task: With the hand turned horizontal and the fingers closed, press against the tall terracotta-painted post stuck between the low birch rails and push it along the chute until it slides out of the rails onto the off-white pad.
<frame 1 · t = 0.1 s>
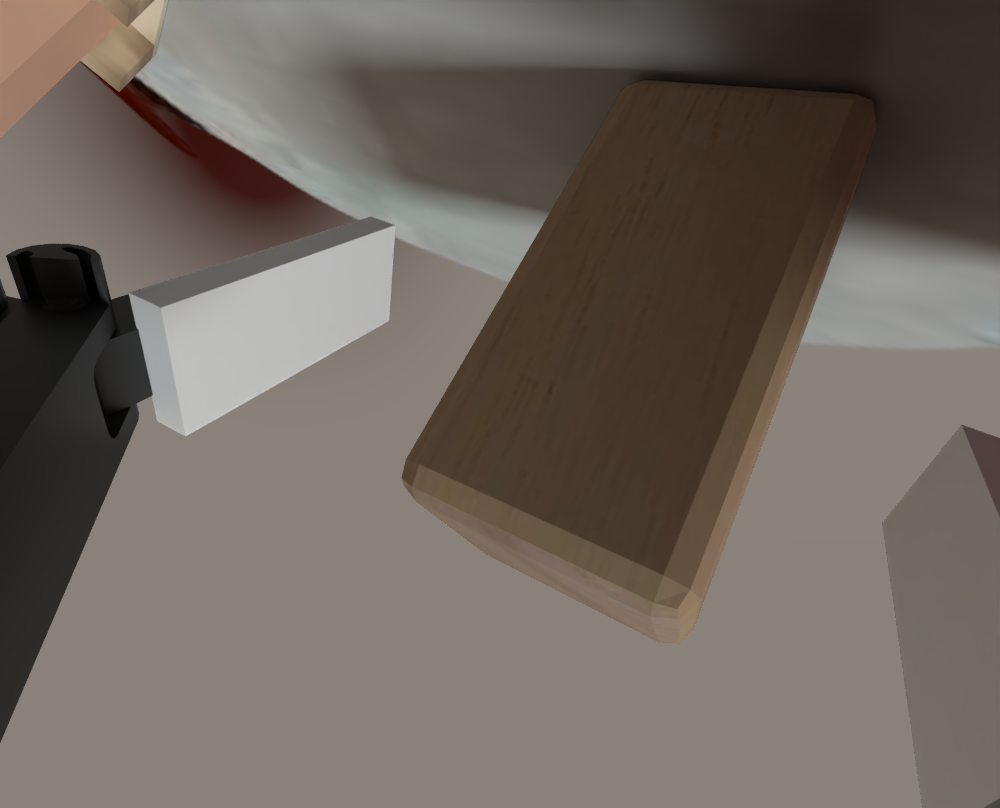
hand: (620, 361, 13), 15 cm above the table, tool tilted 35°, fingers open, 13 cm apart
block: (735, 173, 26), on the table
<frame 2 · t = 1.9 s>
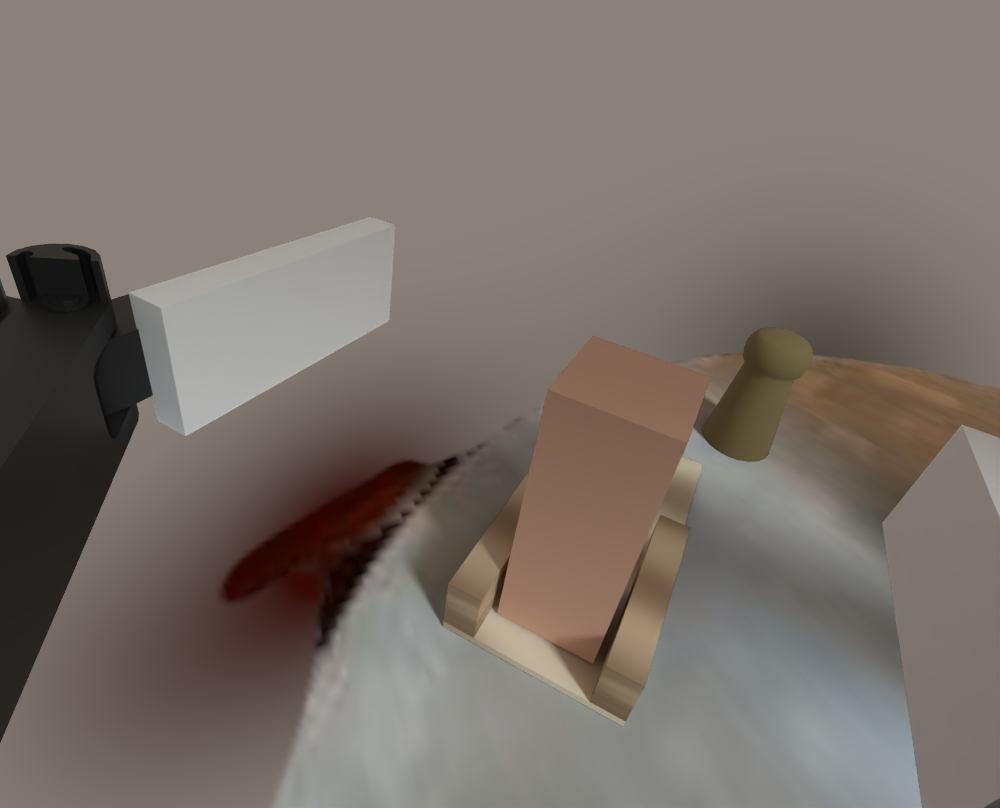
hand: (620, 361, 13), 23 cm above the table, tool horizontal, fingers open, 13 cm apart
post: (592, 507, 30), point 9 cm above the table, slide at 0.0 cm
olive green pawn: (734, 441, 52), on the table
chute: (596, 532, 40), on the table
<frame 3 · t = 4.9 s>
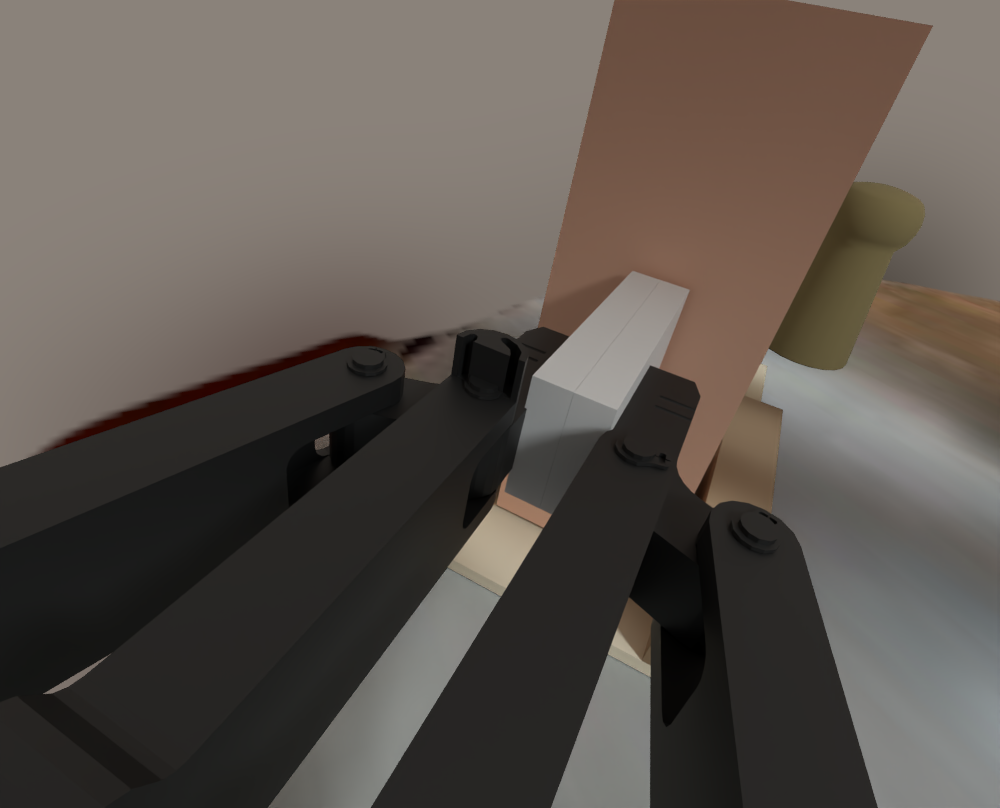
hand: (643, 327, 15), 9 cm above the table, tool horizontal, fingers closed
post: (662, 312, 18), point 9 cm above the table, slide at 1.0 cm, touching gripper
olive green pawn: (799, 349, 40), on the table
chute: (630, 432, 27), on the table
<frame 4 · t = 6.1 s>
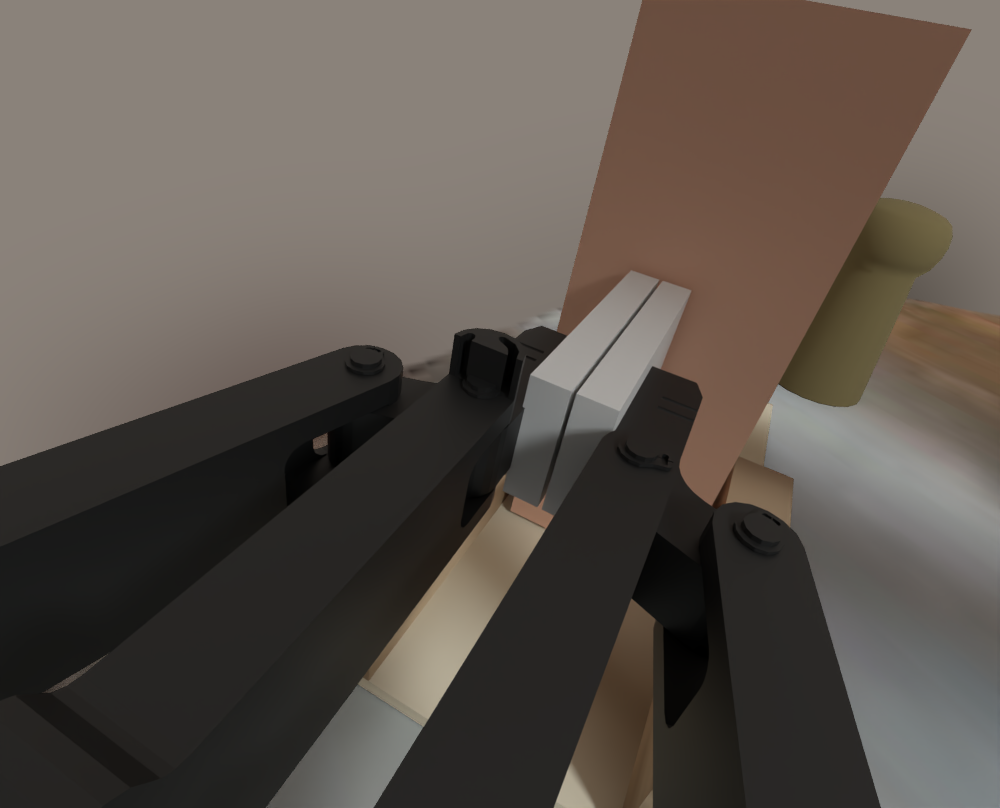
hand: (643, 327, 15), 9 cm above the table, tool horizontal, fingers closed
post: (681, 317, 18), point 9 cm above the table, slide at 5.8 cm, touching gripper
olive green pawn: (808, 381, 36), on the table
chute: (614, 493, 24), on the table
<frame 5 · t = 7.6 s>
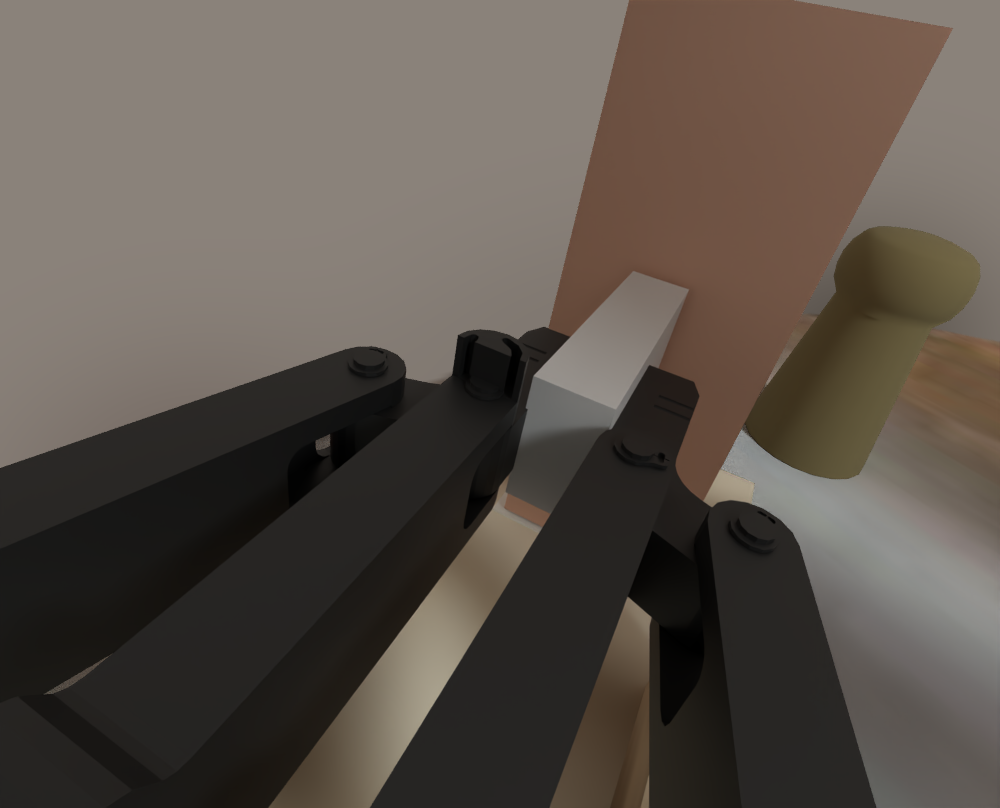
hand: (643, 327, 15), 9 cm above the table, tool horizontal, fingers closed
post: (673, 315, 18), point 9 cm above the table, slide at 13.7 cm, touching gripper
olive green pawn: (800, 442, 30), on the table
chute: (533, 635, 18), on the table
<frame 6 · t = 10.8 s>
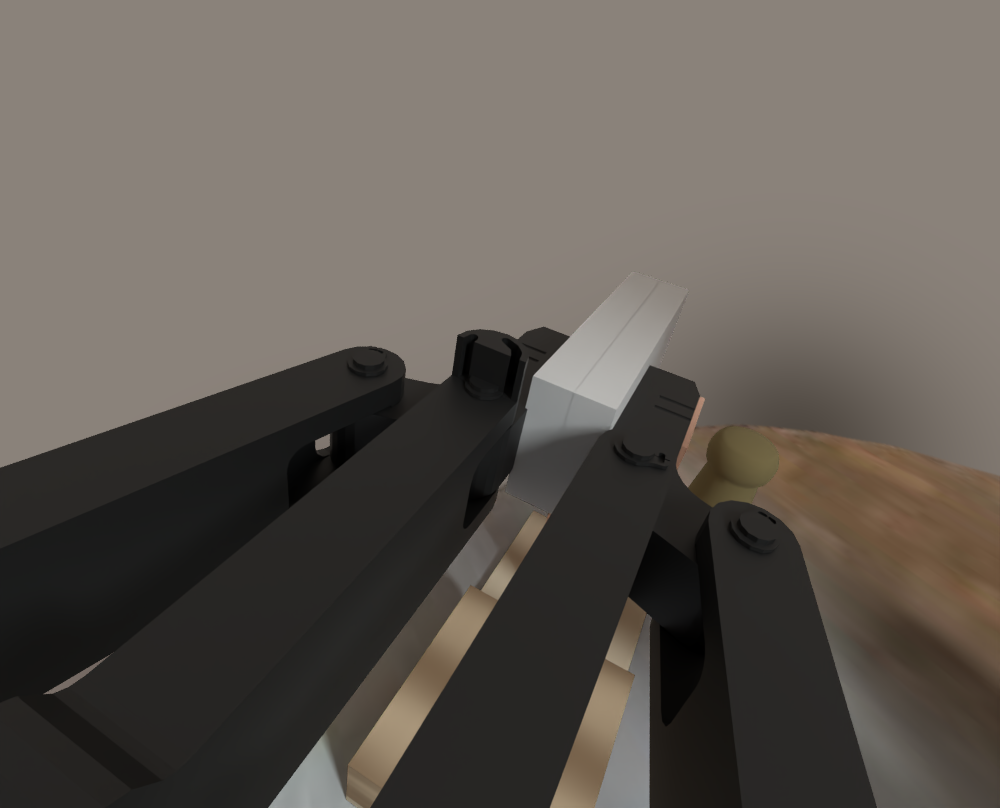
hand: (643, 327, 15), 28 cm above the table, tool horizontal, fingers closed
post: (608, 498, 38), point 9 cm above the table, slide at 14.9 cm
olive green pawn: (696, 538, 49), on the table
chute: (535, 663, 36), on the table
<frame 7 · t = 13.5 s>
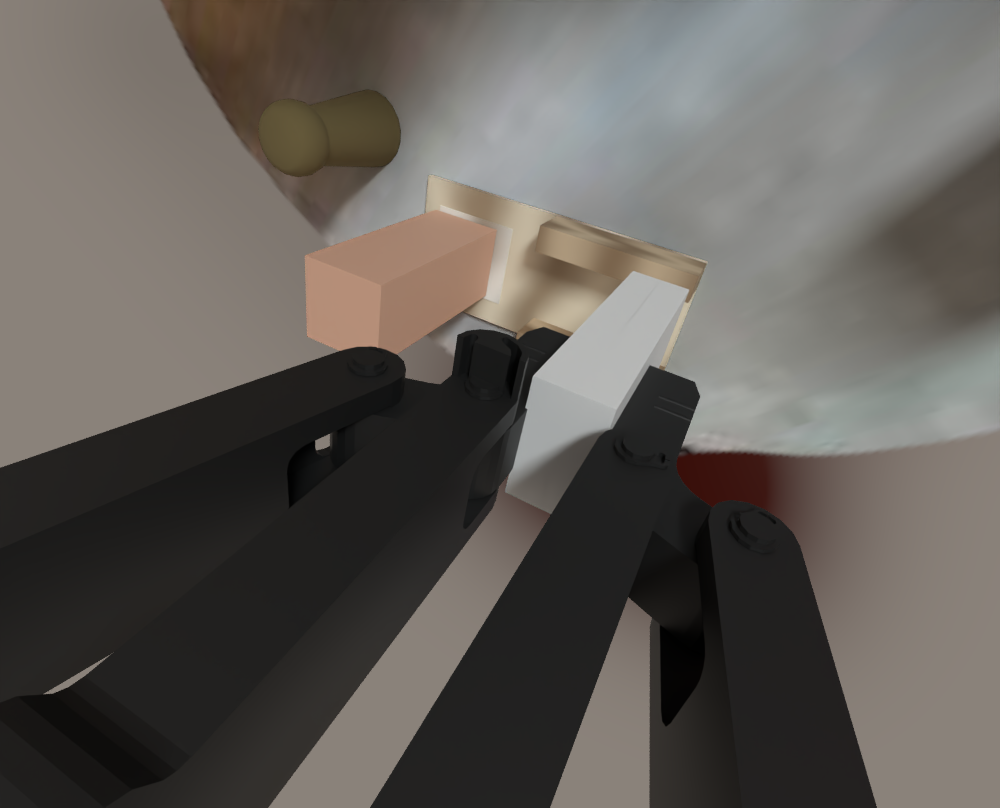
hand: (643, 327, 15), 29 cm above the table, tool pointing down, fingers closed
post: (410, 278, 43), point 9 cm above the table, slide at 14.9 cm
olive green pawn: (373, 129, 49), on the table
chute: (544, 279, 48), on the table
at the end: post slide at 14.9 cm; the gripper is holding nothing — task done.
